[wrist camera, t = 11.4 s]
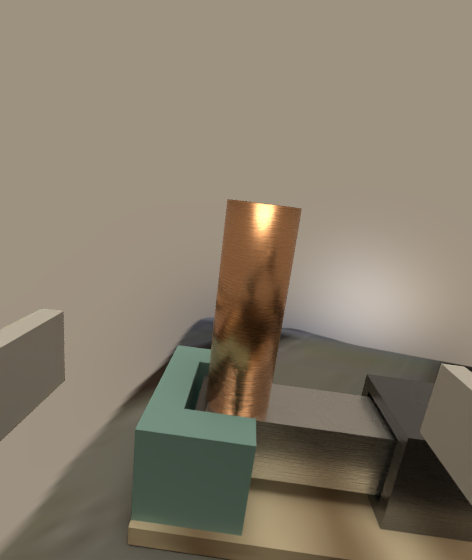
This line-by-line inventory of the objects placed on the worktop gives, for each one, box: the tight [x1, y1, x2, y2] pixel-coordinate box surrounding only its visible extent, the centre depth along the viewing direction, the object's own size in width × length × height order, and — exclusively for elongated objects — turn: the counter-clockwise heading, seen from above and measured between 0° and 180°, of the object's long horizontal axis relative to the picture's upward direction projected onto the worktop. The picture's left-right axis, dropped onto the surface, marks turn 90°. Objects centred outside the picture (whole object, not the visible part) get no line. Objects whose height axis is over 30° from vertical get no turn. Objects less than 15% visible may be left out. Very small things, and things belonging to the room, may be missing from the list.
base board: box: [128, 477, 472, 560], centre depth 21 cm, size 25×10×1 cm, turn 87°
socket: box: [131, 345, 256, 536], centre depth 21 cm, size 6×9×6 cm, turn 177°
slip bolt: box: [195, 199, 398, 496], centre depth 19 cm, size 15×4×16 cm, turn 87°
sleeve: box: [361, 374, 472, 542], centre depth 20 cm, size 11×6×6 cm, turn 87°
